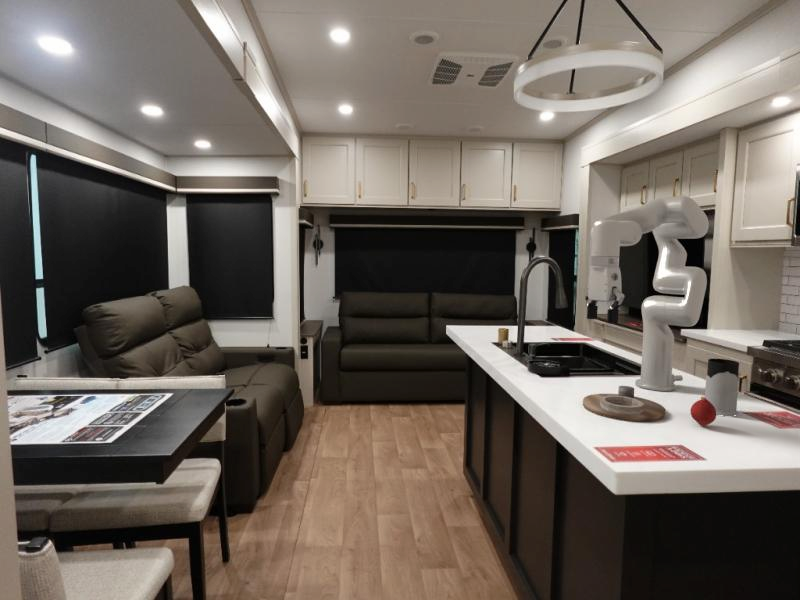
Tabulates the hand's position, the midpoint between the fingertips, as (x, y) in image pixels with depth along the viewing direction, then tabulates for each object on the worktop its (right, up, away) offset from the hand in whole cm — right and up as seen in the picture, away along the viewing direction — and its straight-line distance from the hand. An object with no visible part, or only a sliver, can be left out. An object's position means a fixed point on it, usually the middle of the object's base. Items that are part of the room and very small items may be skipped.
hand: (601, 320), depth 143 cm
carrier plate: (+6, -26, -1) cm, 27 cm away
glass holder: (+35, -27, +1) cm, 44 cm away
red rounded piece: (+21, -28, -14) cm, 37 cm away
